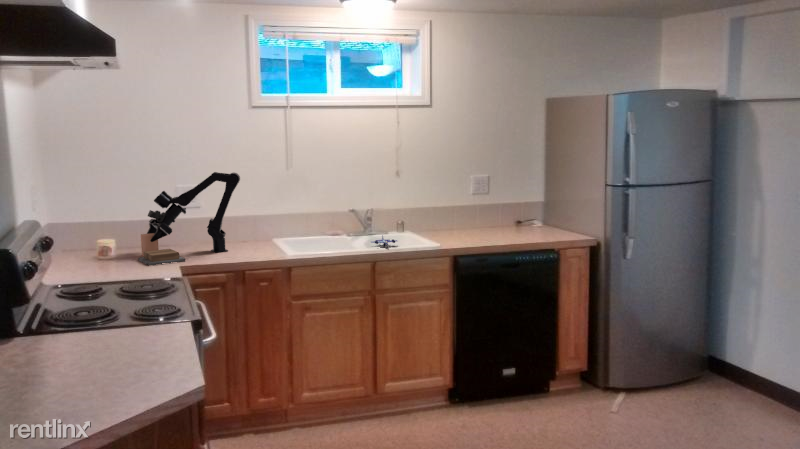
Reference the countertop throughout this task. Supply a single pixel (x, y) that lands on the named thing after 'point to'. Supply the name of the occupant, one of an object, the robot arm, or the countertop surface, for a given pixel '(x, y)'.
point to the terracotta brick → (148, 243)
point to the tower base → (161, 257)
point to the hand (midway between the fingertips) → (148, 240)
